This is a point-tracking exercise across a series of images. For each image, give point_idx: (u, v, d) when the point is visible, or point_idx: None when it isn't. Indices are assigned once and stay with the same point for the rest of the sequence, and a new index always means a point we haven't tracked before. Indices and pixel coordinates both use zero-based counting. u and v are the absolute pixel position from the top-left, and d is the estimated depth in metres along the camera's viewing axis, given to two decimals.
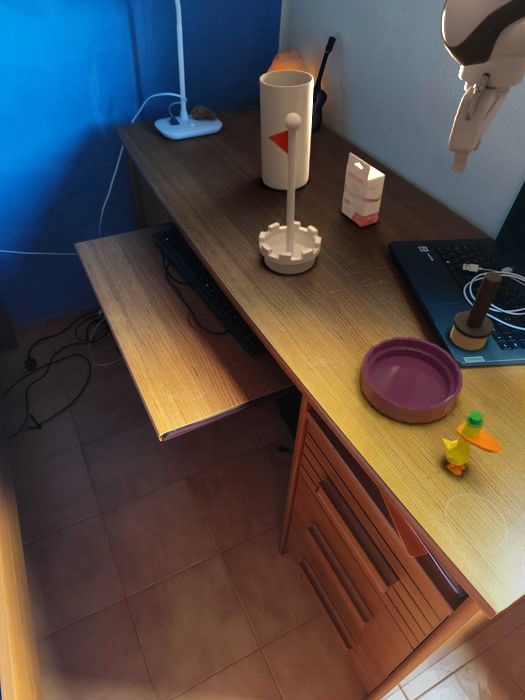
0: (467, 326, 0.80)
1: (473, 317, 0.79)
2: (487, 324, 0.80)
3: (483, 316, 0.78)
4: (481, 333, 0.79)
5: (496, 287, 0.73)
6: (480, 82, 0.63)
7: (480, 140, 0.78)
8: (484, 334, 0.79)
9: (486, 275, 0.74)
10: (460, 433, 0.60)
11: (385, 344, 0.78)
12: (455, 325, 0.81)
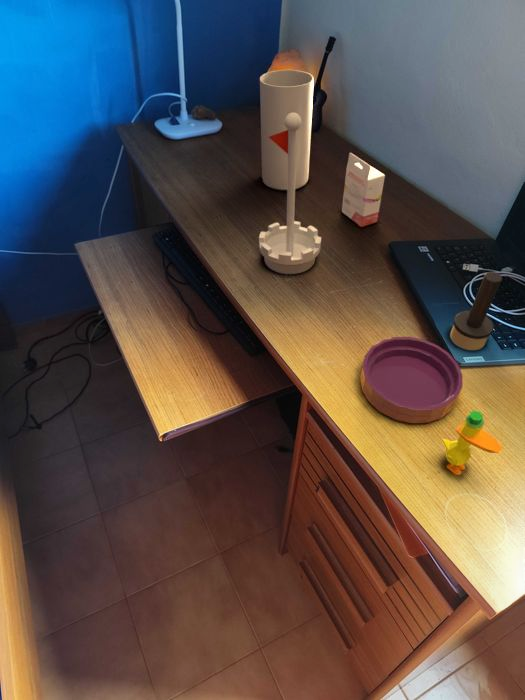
0: (467, 326, 0.80)
1: (473, 317, 0.79)
2: (487, 324, 0.80)
3: (483, 316, 0.78)
4: (481, 333, 0.79)
5: (496, 287, 0.73)
6: None
7: None
8: (484, 334, 0.79)
9: (486, 275, 0.74)
10: (460, 433, 0.60)
11: (385, 344, 0.78)
12: (455, 325, 0.81)
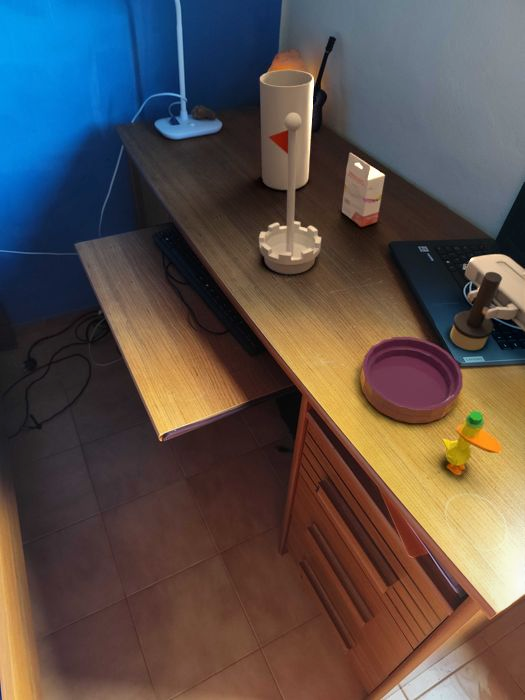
0: (467, 326, 0.80)
1: (473, 317, 0.79)
2: (487, 324, 0.80)
3: (483, 316, 0.78)
4: (481, 333, 0.79)
5: (496, 287, 0.73)
6: None
7: (493, 305, 0.76)
8: (484, 334, 0.79)
9: (486, 275, 0.74)
10: (460, 433, 0.60)
11: (385, 344, 0.78)
12: (455, 325, 0.81)
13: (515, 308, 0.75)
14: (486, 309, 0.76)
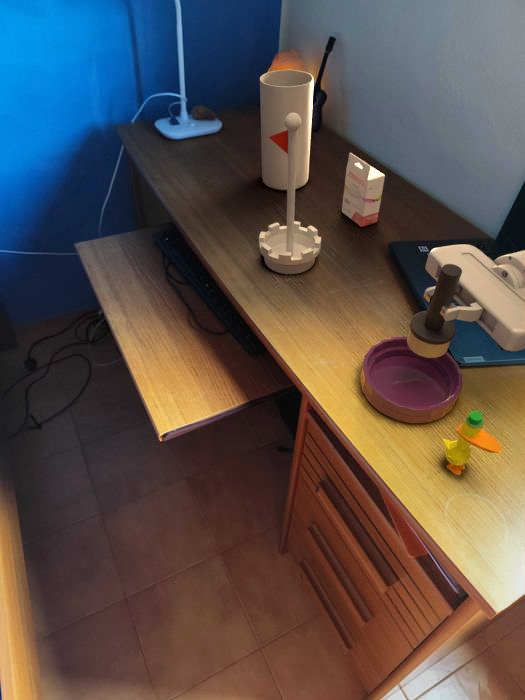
0: (425, 329, 0.67)
1: (431, 318, 0.66)
2: (449, 327, 0.67)
3: (442, 317, 0.65)
4: (441, 338, 0.66)
5: (455, 282, 0.61)
6: (481, 252, 0.73)
7: (454, 304, 0.63)
8: (444, 339, 0.66)
9: (443, 268, 0.61)
10: (460, 433, 0.60)
11: (385, 344, 0.78)
12: (411, 328, 0.68)
13: (479, 308, 0.62)
14: (445, 309, 0.63)
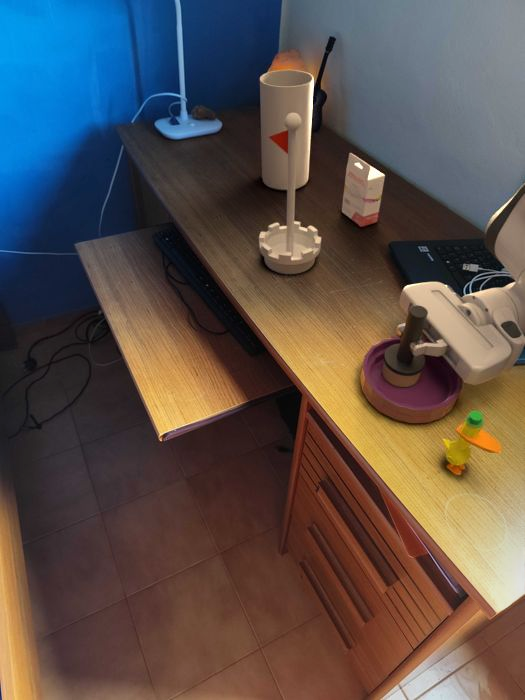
0: (397, 361, 0.74)
1: (402, 352, 0.72)
2: (419, 359, 0.74)
3: None
4: (411, 370, 0.73)
5: (421, 322, 0.67)
6: (450, 288, 0.79)
7: (421, 341, 0.70)
8: (414, 371, 0.72)
9: (411, 309, 0.67)
10: (460, 433, 0.60)
11: (385, 344, 0.78)
12: (384, 360, 0.74)
13: (444, 344, 0.69)
14: (413, 345, 0.69)
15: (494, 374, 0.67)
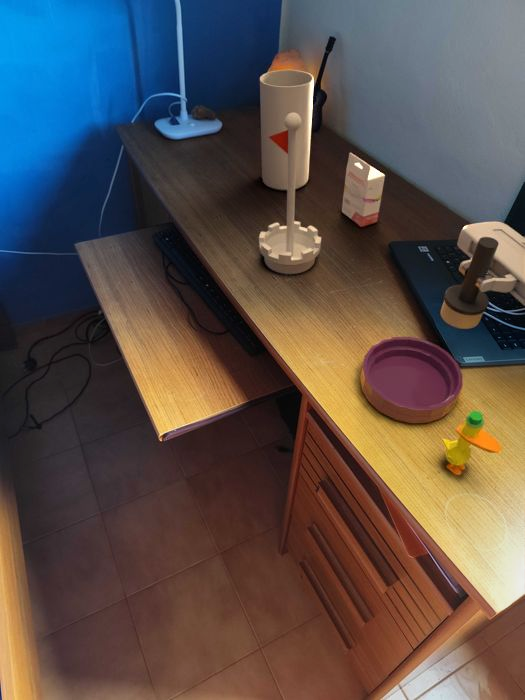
0: (459, 301, 0.71)
1: (466, 290, 0.69)
2: (482, 299, 0.71)
3: (477, 289, 0.69)
4: (475, 308, 0.69)
5: (492, 254, 0.64)
6: None
7: (489, 276, 0.67)
8: (478, 310, 0.69)
9: (480, 240, 0.64)
10: (460, 433, 0.60)
11: (385, 344, 0.78)
12: (446, 300, 0.71)
13: (513, 279, 0.66)
14: (480, 280, 0.66)
15: None
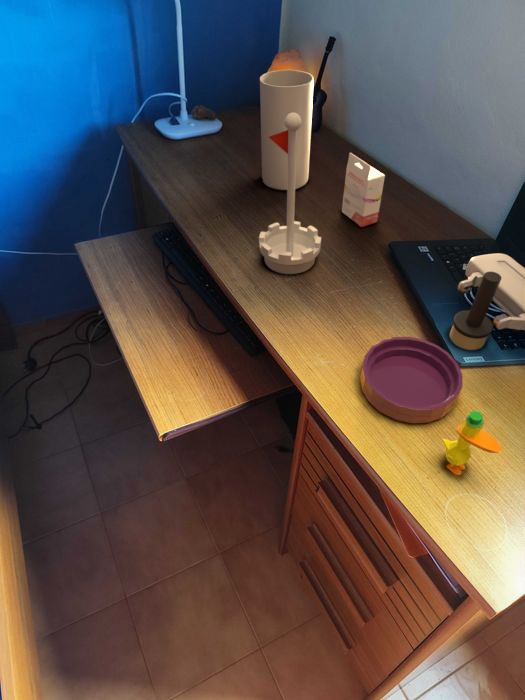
0: (466, 326, 0.80)
1: (472, 317, 0.79)
2: (486, 324, 0.80)
3: (482, 316, 0.78)
4: (480, 333, 0.79)
5: (495, 287, 0.74)
6: (512, 259, 0.86)
7: (505, 315, 0.74)
8: (483, 334, 0.79)
9: (485, 275, 0.74)
10: (460, 433, 0.60)
11: (385, 344, 0.78)
12: (454, 325, 0.81)
13: None
14: (498, 319, 0.74)
15: None
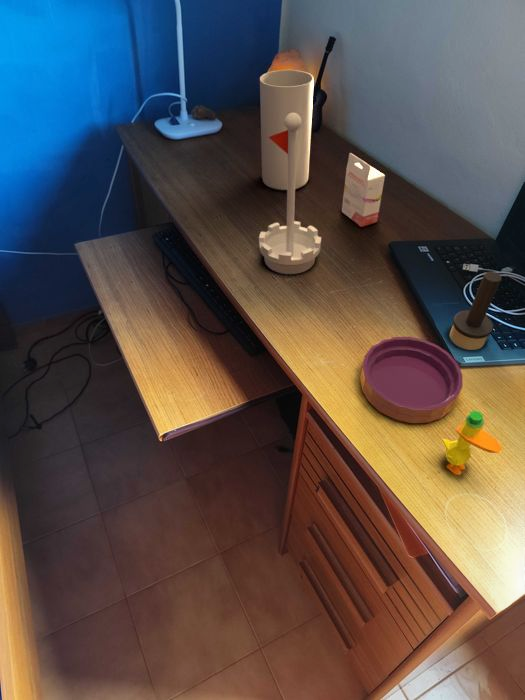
0: (466, 326, 0.80)
1: (472, 317, 0.79)
2: (486, 324, 0.80)
3: (482, 316, 0.78)
4: (480, 333, 0.79)
5: (495, 287, 0.74)
6: None
7: None
8: (483, 334, 0.79)
9: (485, 275, 0.74)
10: (460, 433, 0.60)
11: (385, 344, 0.78)
12: (454, 325, 0.81)
13: None
14: None
15: None
